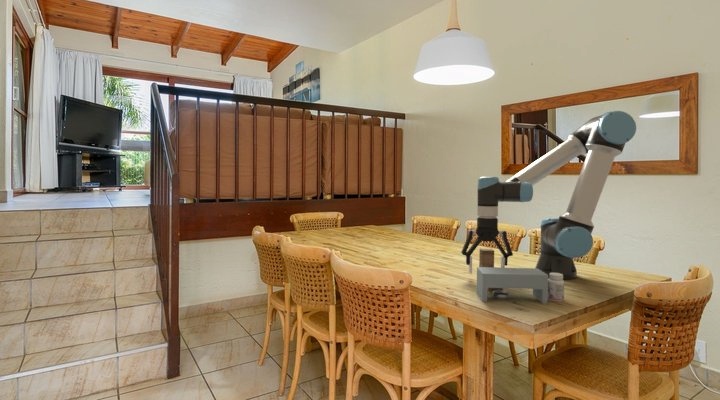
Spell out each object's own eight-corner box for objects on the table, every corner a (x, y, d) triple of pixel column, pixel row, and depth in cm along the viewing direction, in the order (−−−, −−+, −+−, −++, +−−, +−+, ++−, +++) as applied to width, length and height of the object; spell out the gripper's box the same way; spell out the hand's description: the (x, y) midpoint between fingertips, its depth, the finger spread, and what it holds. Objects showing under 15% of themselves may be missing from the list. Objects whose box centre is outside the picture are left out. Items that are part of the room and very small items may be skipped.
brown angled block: (478, 278, 151) (479, 248, 150) (491, 279, 150) (491, 248, 150) (488, 291, 134) (489, 257, 134) (502, 291, 134) (503, 257, 133)
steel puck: (506, 295, 130) (506, 290, 130) (510, 300, 125) (510, 294, 125) (491, 295, 130) (491, 289, 130) (494, 300, 125) (494, 294, 125)
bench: (537, 294, 130) (537, 268, 130) (547, 303, 121) (548, 275, 121) (476, 293, 132) (476, 267, 132) (482, 301, 123) (482, 273, 123)
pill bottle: (544, 297, 127) (545, 272, 127) (558, 297, 128) (558, 272, 127) (552, 302, 123) (553, 276, 122) (566, 301, 123) (567, 275, 122)
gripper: (516, 216, 149) (515, 271, 151) (454, 215, 152) (453, 270, 153) (522, 218, 142) (521, 276, 143) (457, 217, 144) (456, 275, 146)
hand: (486, 273), depth 148 cm, fingers open, 11 cm apart
